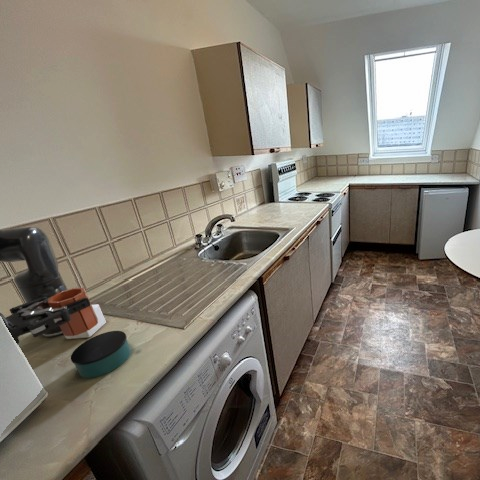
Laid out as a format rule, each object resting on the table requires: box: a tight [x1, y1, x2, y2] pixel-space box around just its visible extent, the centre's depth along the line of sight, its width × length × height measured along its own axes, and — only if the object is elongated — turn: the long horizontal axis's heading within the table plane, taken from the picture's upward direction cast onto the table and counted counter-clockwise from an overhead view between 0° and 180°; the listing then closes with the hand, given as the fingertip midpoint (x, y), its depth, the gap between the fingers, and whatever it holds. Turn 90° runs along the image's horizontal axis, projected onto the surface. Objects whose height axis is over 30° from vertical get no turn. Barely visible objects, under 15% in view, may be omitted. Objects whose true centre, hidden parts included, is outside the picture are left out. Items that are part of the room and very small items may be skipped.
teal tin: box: [70, 330, 132, 379], centre depth 69 cm, size 11×11×5 cm
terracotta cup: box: [48, 287, 98, 337], centre depth 62 cm, size 6×6×9 cm
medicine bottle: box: [64, 303, 107, 340], centre depth 80 cm, size 7×7×12 cm
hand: (81, 297), depth 63 cm, fingers closed on terracotta cup, 6 cm apart
